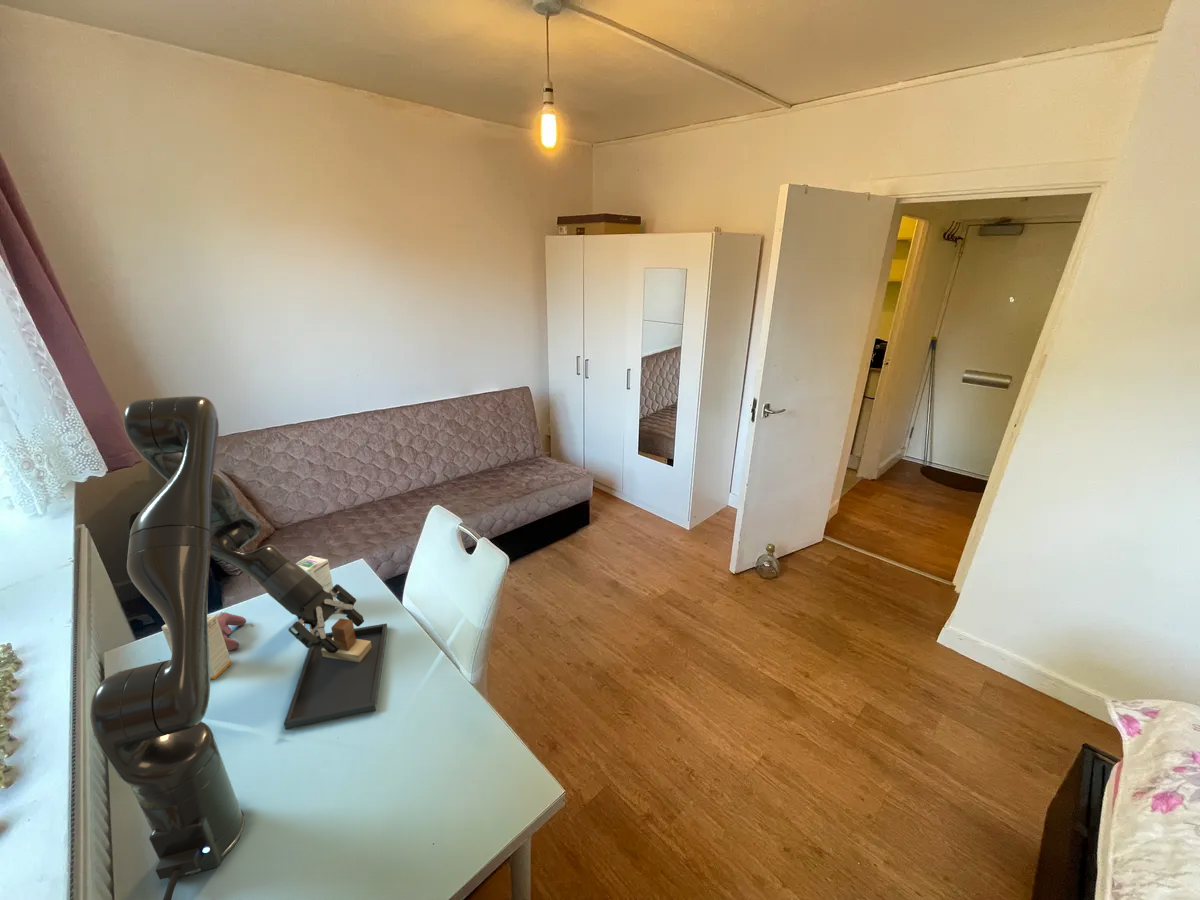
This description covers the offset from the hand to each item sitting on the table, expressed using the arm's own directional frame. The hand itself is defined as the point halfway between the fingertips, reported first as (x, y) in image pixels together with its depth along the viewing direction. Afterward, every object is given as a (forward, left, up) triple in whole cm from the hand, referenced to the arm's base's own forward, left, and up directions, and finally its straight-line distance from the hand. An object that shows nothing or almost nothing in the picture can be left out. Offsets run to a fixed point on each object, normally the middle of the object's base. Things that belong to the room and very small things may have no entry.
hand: (349, 636), depth 107 cm
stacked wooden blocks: (+1, +1, -5) cm, 5 cm away
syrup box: (+18, +10, -5) cm, 21 cm away
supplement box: (+4, +29, -5) cm, 30 cm away
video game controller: (+13, +28, -5) cm, 31 cm away
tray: (-5, +1, -5) cm, 8 cm away
